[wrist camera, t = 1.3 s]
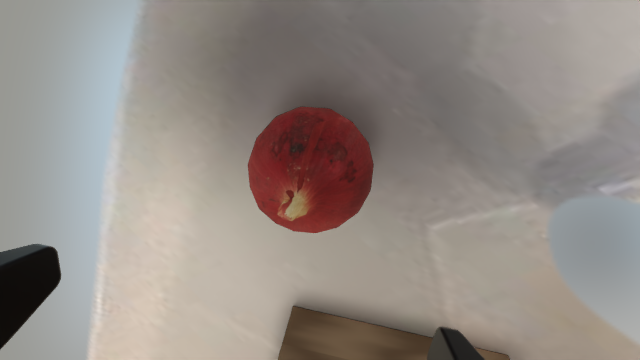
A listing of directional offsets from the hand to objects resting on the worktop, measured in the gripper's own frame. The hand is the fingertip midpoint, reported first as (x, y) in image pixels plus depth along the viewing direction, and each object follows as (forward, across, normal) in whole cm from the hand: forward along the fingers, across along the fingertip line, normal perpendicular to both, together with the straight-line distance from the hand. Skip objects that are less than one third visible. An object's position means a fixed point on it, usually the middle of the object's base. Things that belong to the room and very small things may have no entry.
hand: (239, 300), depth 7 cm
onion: (+12, 0, 0) cm, 13 cm away
